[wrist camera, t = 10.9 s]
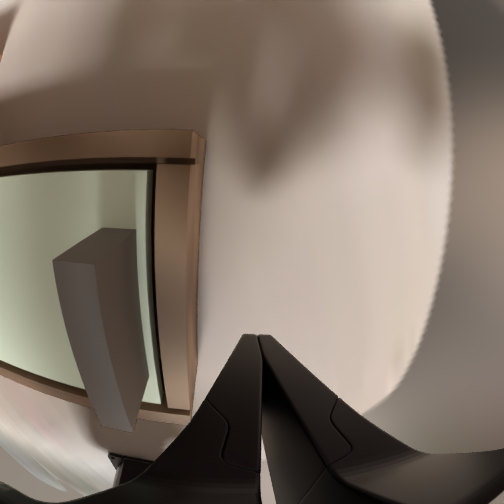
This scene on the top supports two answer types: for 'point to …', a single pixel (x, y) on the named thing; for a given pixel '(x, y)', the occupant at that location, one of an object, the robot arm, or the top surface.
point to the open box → (162, 245)
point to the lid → (81, 285)
